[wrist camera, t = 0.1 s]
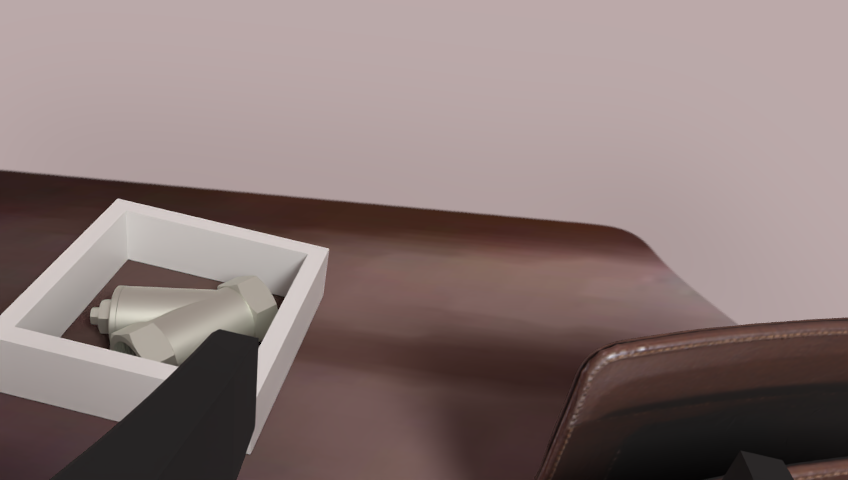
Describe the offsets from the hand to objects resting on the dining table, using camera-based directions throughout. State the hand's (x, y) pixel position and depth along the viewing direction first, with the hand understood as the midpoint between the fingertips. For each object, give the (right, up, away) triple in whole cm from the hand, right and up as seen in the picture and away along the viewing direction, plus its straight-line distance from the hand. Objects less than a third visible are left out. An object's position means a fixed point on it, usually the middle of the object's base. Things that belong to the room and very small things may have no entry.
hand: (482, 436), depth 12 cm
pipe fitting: (-14, -3, +32) cm, 35 cm away
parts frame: (-14, -2, +32) cm, 35 cm away
